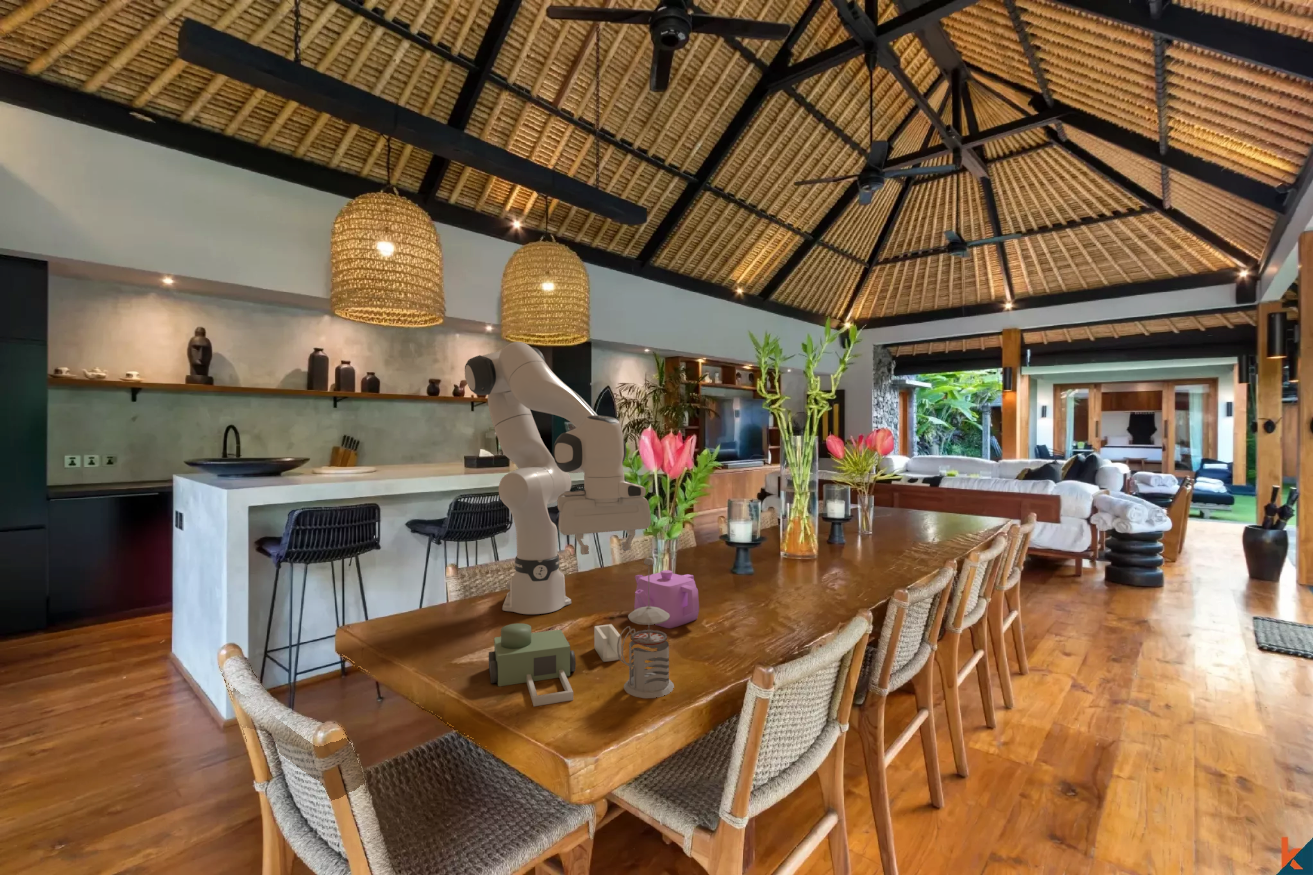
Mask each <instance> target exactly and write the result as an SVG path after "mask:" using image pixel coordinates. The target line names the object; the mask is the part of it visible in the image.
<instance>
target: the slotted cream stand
mask: <svg viewBox="0 0 1313 875" xmlns="http://www.w3.org/2000/svg"><path fill="white" fill-rule="evenodd" d="M593 631H594V636H593V637H594V649H595V651H596V653H597V654H598V656H599V657H600V659H601V660H602V662H603V663H605V662H612V661H621V660H620V659H619V657H618V653H617V642H618V639H619V636H620V634H621V633H619V632H618V630H617V628H615V627H614V625H613V624H612V623H610V624H603V625H602V624H601V625H595V626H594V630H593ZM618 647H619V655H620V658H621V659H622V636H621V637H620V640H619V644H618Z"/></svg>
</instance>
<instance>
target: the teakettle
mask: <svg viewBox="0 0 1313 875" xmlns="http://www.w3.org/2000/svg"><path fill="white" fill-rule="evenodd" d="M634 578H635V582H636V590H635V592H634V594H635V597H634V607H633V608H634V610H635V609H638V608H641V607H647V606H648V575H644V576H643V574H637V575H635V576H634ZM699 600H700V599H699V590H698V588H697V584H696V581H695V576H694V575H693V574H688V573H687V574H677V573H673V571H672V570H669V569H664V570H661V571H660V572H655V573H652V574H649V606H651V607H658V608H660V609H662V610H664V611H666V612H667V613H669V615H670V618H669V619H668V620H667V621H666V622H663V623H660V624H655V626H658V627H662V628H665V629H673V628H677V627H680V626H683V625H686V624H688V623H689V624H690V623H691V622H693V621H695V620H697V619H698V617H699V612H700V602H699Z"/></svg>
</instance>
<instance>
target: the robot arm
mask: <svg viewBox="0 0 1313 875" xmlns="http://www.w3.org/2000/svg"><path fill="white" fill-rule="evenodd" d="M543 354H544V353H542V352H541V351H540V349H538V348H537V347H532V346H530V345H529V344H527V343H525V342H522V341H514V342H511V343H508V344H507V345H506V346H504V347H503V348H502V349H501V350H500V351H494V352H491V353H487V354H483V355H480V354H479V355H477V356H474V357H471V358H470V359H468V360H467V361H466V363H465V365H464V378H465V379H464V380H465V382H466V384H467V386H468V388H469V389H470V391H471V392H473V394H475V395H477V396H487V404H488V405H487V406H488V410H489V415H490V419H491V423H492V426H493V428H494V431H495V433H496V437H497V440H498V444H499V445H500V448H501V451H502V453H503V454H504V456H505V457H507V459H509V460H511V461H512V463H514V465H516V467H517V469H515V470H512V471H510V472H508V473H507V474H505V475H504V476H503V477H502V478H501V480H500V481H499V485H498V495H499V498H500V500H501V502H502V503H503V504H504V505H505V506H506V507H507V508H508V509H509V511H510V514H511V515H512V519H513V522H514V526H515V527H514V528H515V533H516V534H515V535H516V536H515V537H516V556H515V557H514V558H515V559H514V570H515V572H514V574H513V576H512V577H511V579H510V580H507V581H506V589H507V590H510V591H508V592H507V594H506V597H505V599H504V602H503V605H502V608H501V610H502V611H505V612H512V613H513V612H514V613H517V614H521V615H522V614H523V615H540V614H541V615H542V614H548V613H552V612H556V611H559V610H560V609H562V608H564V607H565V606H569V605H571V604H572V599H571V598H569V597H568V596H567V595H566V583H565V582H566V581H565V578H566V577H565V574H564V573H563V572H562V571H560V569H559V568H560V555H559V554H558V531H559V532H560V533H561V535H563V536H572V535H573V536H574V538H575V539H576V542H577V543H578V545H579V546H580V554H581V555H584V556H585V555H589V553H590V552H589V550H590V547H589V545H588V544H584V542H583V539H584V535H585V534H595V533H596V534H597V533H610V532H623V531H626V534H627V537H626V539H625V541H621V542H622V543H621V545H622V548H621V549H622V551H624V552H625V551H626V552H627V551H631V549H632V548H631V544H632V541H633V540H634V538H635V536H636V530H646V529H649V527H650V526H651V523H652V520H651V519H652V517H651V508H650V504H649V501H648V499H647V498H645V496H646V492H647V491H646V488H645V486H642V485H641V484H637V483H633V482H631V481H628V480H627V481H626V480H625V472H624V468H623V464H624V463H625V459H626V457H627V452H628V450H627V444H626V442H625V440H624V434H623V428H622V426H621V423H620V421H619V420H618V419H617V418H615V417H614V416H608V415H598V414H597V413H596V412H595V411H594V409H592V407H591V406H590V405H589V404H588V402H586V401H585V399H584V398H582V396H581V395H579V394H578V393H577V392H576V391H575V390H573V389H572V388H570V387H569V386H568V385H567V384H566V383H565V382H563V381H562V379H560V378H559V377H558V376H557V375H556V374H555V373H554V372H553V371H552V370H551V368H550V367H549V365H548V364H547V363H546V359H545V356H544V355H543ZM531 410H532V411H534V412H539V413H545V414H549V415H555V416H557V417H561V418H564V419H566V421H569V422H570V423H571V424H572V425H573V426H574V427H575V428H573V429H571V430H569V431H566V432H563V433H561V434H560V435H558V437H557V438H556V440H555V442H554V443H553V449H552V453H551V452H550V450H549V449H548V448H547V446H546V445H545V443H544V441H543V439H542V438H541V434H540V432H539V430H538V426H537V424H536V421H535V419H534V417H533V413H532V411H531ZM579 473H584V475H583V480H584V481H583V482H584V483H583V485H584V486H583V487H584V488H583V490H574V491H571V488H572V478H571V475H570V474H579ZM556 502H557V503H556ZM554 503H556V504H557V509H558V511H559V515H558V528H557V525H556V523H555V522H553V521H552V519H551V517H550V514H549V510H548V505H550V504H554Z"/></svg>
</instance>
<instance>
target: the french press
mask: <svg viewBox="0 0 1313 875" xmlns="http://www.w3.org/2000/svg"><path fill="white" fill-rule="evenodd" d="M643 564H644V565H645V566H646V565H647V567H648V571H647V572H648V573H647V576H648V606H647V607H641V608H638V609H634V610H632V611H631V612H630V613H628V616H627V618H628V619H629V621H630V622H631V623H634V624H637V625H648V626H647V627H648V628H647V630H646V629H643V630H638V631H636V629H635V628H632V627H631V626H630V625H628V626H626V627H624V629H623V630H622V631H621V633H619V634H620V636H619V639H618V642H617V653H618V657H619V659H620V660H619V661H620V662H621V663H623V664H625V665H626V666H627V667H628V670H629V671H628V673H629V674H628V675H629V676H628V680H626V682H625V683H624V684H623V690H624V691H625V692H626V693H627V694H629V695H630V696H633V697H636V698H642V699H657V698H660V697H664V695H665V696H667V695H669V694H671V693H672V692H673V691H674V689H675V685H674V682H672V680H671V679H670V666H669V665H670V660H669V659H670V643H669V642H668V641H667V640H668V634H666V633H665V632H663V631H660V630H656V629H655V630H653V629H650V626H651V625H654V624H660V623H663V622H666V621H667V620H668V619H669V618H670V615H669V613H667V612H666V611H664V610H662V609H660V608H658V607H651V606H649V575H650V565H654V564H655V560H654V559H653V558H652V557H645V559H644V560H643ZM627 629H629V631H628V632H627V633H626V635H625V637H624V639H623V641H622V643H621V658H620V655H619V647H618V644H619V640H620V637H621V638H622V635H623V633H624V632H625V631H626V630H627ZM632 631H633V632H632ZM629 634H630V640H631V641H630V642H629V643H628V644H629V645H628V646H629V647H628V650H629V651H628V658H629V659H628V661H629V662H626V660H625V656H624V644H625V643H626V642H625V641H626V639H627V637H628V636H629ZM635 645H640V646H642V647H644V648H641V647H633V646H635ZM632 647H633V648H632ZM645 648H650V649H656V650H653V651H652V650H648V649H645ZM632 654H633V655H632ZM645 661H649V662H645ZM647 667H649V668H647ZM673 688H674V689H673ZM670 692H671V693H670ZM656 697H657V698H656Z"/></svg>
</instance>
